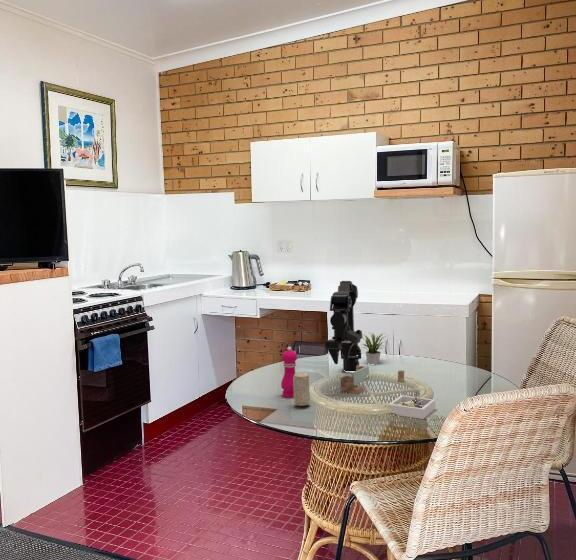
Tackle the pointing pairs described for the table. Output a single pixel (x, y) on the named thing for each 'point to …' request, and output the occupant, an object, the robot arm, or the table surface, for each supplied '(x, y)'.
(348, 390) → the brown boot
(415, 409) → the tray
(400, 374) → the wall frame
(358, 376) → the door
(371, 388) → the table surface
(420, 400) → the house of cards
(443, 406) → the table surface
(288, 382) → the pepper mill
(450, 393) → the table surface
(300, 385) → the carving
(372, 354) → the house plant
